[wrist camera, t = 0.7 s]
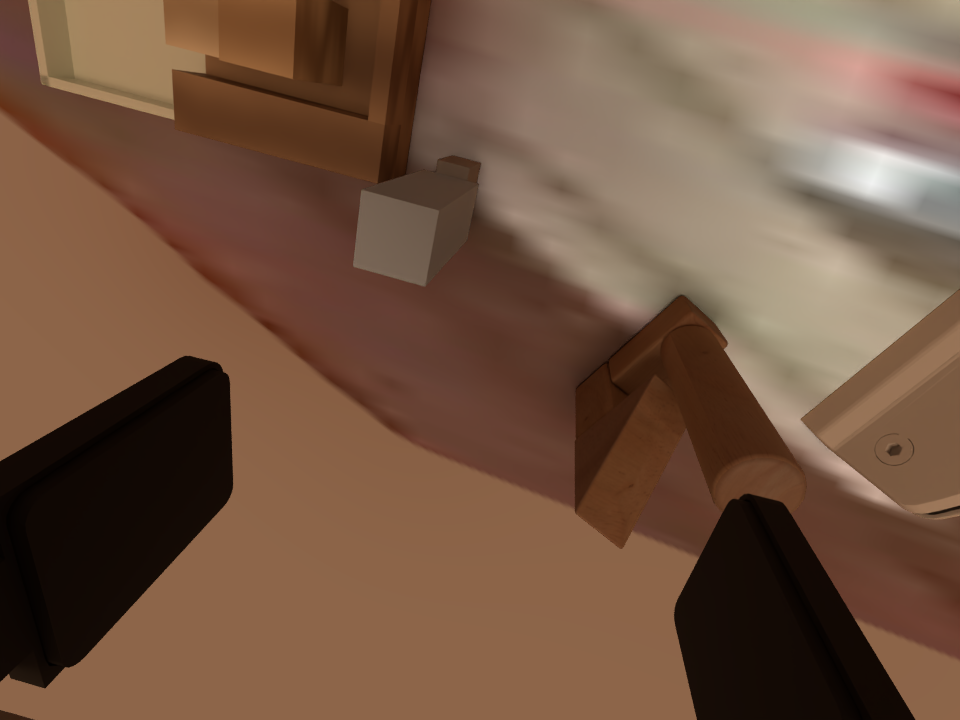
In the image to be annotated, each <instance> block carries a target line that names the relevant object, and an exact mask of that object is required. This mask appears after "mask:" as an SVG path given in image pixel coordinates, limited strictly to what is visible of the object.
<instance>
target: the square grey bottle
mask: <svg viewBox="0 0 960 720" xmlns="http://www.w3.org/2000/svg"><path fill="white" fill-rule="evenodd" d="M480 165H481V163H479V162H475V161H471V160H468V159H464V158H460V157H456V156H449V157H445V158H442V159H438V162H437V168H436V173H435V172H432V171H428V170H421V171H417V172H414V173H411V174H408V175H405V176H402V177H399V178H396V179H393V180H390V181H387V182H384V183H381V184H377V185H374V186H371V187H368V188H365V189H362V190H361V199H360V208H359V217H358V226H357V235H356V244H355V253H354V262H353V267H356V268H360V269H364V270H367V271H371V272H374V273H378V274H382V275H385V276H389V277H392V278H396V279H400V280H403V281H407V282H410V283H414V284H418V285H421V286H426V285H427V284H428V283H429V282H430V281H431V279H432V278H433V277H434V276H435V275H436V274H437V273H438V272H439V271H440V269H441V268H442V267H443V266H444V265H445V264H446V263H447V262H448V261H449V260H450V258H451V257H452V256H453V255H454V254H455V253H456V252H457V251H458V250H459V248H460V247H461V246H462V245H463V244H464V243H465V242H466V241H467V238H468V233H469V228H470V224H471V219H472V214H473V210H474V205H475V200H476V196H477V191H478V186H479V184H477V179H478V174H479V170H480Z"/></svg>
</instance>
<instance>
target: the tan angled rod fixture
mask: <svg viewBox="0 0 960 720" xmlns="http://www.w3.org/2000/svg"><path fill="white" fill-rule="evenodd" d="M727 345H728V343H727V340H726V339H725V337H724V336H723V335H722V333H721V332H720V330H719V329H718V327H717V326H716V324H715V323H714V322H712V321H711V320H710V319H709V318H708V317H707V316H706V315H705V314H704V313H703V312H702V311H700V310H699V309H698V308H697V307H696V306H695V305H694V304H693V303H692V302H691V301H690V300H688V299H687V298H686V297H685V296H680V297H678V298H677V299H676V300H675V301H674V302H673V303H672V304H671V305H670V306H668V307H667V308H666V309H665V310H664V311H663V312H662V313H661V314H660V315H658V316H657V317H656V318H655V319H654V320H653V321H652V322H651V323H649V324H648V325H647V326H646V327H645V328H644V329H643V330H642V331H641V332H639V333H638V334H637V335H636V336H635V337H634V338H633V339H632V340H630V341H629V342H628V343H627V344H626V345H625V346H624V347H623V348H622V349H620V350H619V351H618V352H617V353H616V354H615V355H614V356H613V357H612V358H610V360H609V364H608V363H605V364H604V365H602V366H601V367H600V368H599V369H598V370H597V371H596V372H595V373H593V374H592V375H591V376H590V377H589V378H588V379H587V380H586V381H585V382H583V383H582V384H581V385H580V386H579V387H578V388H577V389H576V440H575V513H576V514H577V515H578V516H579V517H581V518H582V519H583V520H584V521H586V522H587V523H588V524H589V525H591V526H592V527H593V528H595V529H596V530H597V531H598V532H600V533H601V534H602V535H603V536H605V537H606V538H607V539H608V540H610V541H611V542H612V543H614V544H615V545H616V546H617V547H619V548H620V549H622V548H623V547H624V545H625V543H626V541H627V539H628V537H629V536H630V534H631V532H632V530H633V528H634V526H635V524H636V522H637V520H638V518H639V516H640V515H641V513H642V511H643V509H644V507H645V505H646V503H647V501H648V499H649V497H650V495H651V494H652V492H653V490H654V488H655V486H656V484H657V482H658V480H659V478H660V476H661V474H662V473H663V471H664V469H665V467H666V465H667V463H668V461H669V459H670V457H671V455H672V454H673V452H674V450H675V448H676V446H677V444H678V442H679V440H680V438H681V436H682V434H683V433H684V431H685V429H686V428H687V431H688V433H689V436H690V439H691V441H692V444H693V447H694V450H695V452H696V455H697V458H698V461H699V463H700V466H701V469H702V472H703V474H704V477H705V480H706V483H707V485H708V488H709V491H710V494H711V496H712V499H713V502H714V503H715V504H716V506H717V507H718V508H719V509H720V510H721V511H722V512H723V511H724V509H725V507H726V505H727V504H728V502H729V501H730V500H731V499H739V498H740V497H741V496H742V495H743V494H747V493H749V494H753V495H757V496H761V497H765V498H769V499H773V500H777V501H780V502H782V503H784V505H785V506H786V507H787V509H788V510H789V512H790V514H791V513H792V512H794V511H795V510H796V509H797V508H798V507H799V506H800V504H801V503H802V501H803V500H804V497H805V492H806V487H807V483H806V478H805V474H804V472H803V470H802V469H801V467H800V466H799V464H798V463H797V461H796V460H795V458H794V456H793V455H792V453H791V452H790V450H789V449H788V447H787V446H786V444H785V443H784V441H783V440H782V438H781V437H780V435H779V434H778V432H777V430H776V429H775V427H774V426H773V424H772V423H771V421H770V420H769V418H768V417H767V415H766V414H765V412H764V411H763V409H762V407H761V406H760V404H759V403H758V401H757V400H756V398H755V397H754V395H753V394H752V392H751V391H750V389H749V388H748V386H747V385H746V383H745V381H744V380H743V378H742V377H741V375H740V374H739V372H738V371H737V369H736V368H735V366H734V365H733V363H732V362H731V360H730V358H729V357H728V355H727V354H726V352H725V351H724V348H726V346H727Z"/></svg>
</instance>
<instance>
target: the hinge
mask: <svg viewBox="0 0 960 720" xmlns="http://www.w3.org/2000/svg"><path fill="white" fill-rule="evenodd" d="M801 420H802V421H803V423H804V424H805V425H806V426H807V427H808V428H809V429H810V430H811V431H812V432H813V433H814V434H815V435H816V436H817V437H818V438H819V439H820V440H821V441H822V442H823V444H824V445H825V446H826V447H828V448H829V449H830V450H831V451H833V452H834V453H835V454H836V455H837V456H839V457H840V458H841V459H842V460H844V461H845V462H846V463H847V464H849V465H850V466H851V467H852V468H854V469H855V470H856V471H857V472H859V473H860V474H861V475H862V476H863V477H865V478H866V479H867V480H868V481H870V482H871V483H872V484H873V485H875V486H876V487H877V488H878V489H880V490H881V491H882V492H883V493H885V494H886V495H887V496H888V497H889V498H891V499H892V500H893V501H894V502H896V503H897V504H898V505H899V506H901V507H902V508H903V509H905V510H907V511H909V512H912V513H913V514H915V515H917V516H919V517H922V518H927V519H946V518H951V517H956V516H960V289H959V290H958V291H957V292H956V293H954V294H953V295H952V296H951V297H950V298H948V299H947V300H946V301H945V302H943V303H942V304H941V305H940V306H939V307H937V308H936V309H935V310H934V311H932V312H931V313H930V314H929V315H928V316H926V317H925V318H924V319H923V320H921V321H920V322H919V323H918V324H917V325H915V326H914V327H913V328H912V329H910V330H909V331H908V332H907V333H906V334H904V335H903V336H902V337H901V338H899V339H898V340H897V341H896V342H895V343H893V344H892V345H891V346H890V347H888V348H887V349H886V350H885V351H884V352H882V353H881V354H880V355H879V356H877V357H876V358H875V359H874V360H873V361H871V362H870V363H869V364H868V365H866V366H865V367H864V368H863V369H862V370H860V371H859V372H858V373H857V374H855V375H854V376H853V377H852V378H851V379H849V380H848V381H847V382H846V383H844V384H843V385H842V386H841V387H840V388H838V389H837V390H836V391H835V392H833V393H832V394H831V395H830V396H829V397H827V398H826V399H825V400H824V401H822V402H821V403H820V404H819V405H818V406H816V407H815V408H814V409H813V410H811V411H810V412H809V413H808V414H807V415H805V416H804V417H803V418H802V419H801Z"/></svg>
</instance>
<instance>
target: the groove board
mask: <svg viewBox="0 0 960 720" xmlns="http://www.w3.org/2000/svg"><path fill="white" fill-rule="evenodd" d="M331 1H333V2H335V3H337V4H339V5H341V6H343V7H345V8H347V9H349V11H348V22H347V34H346V46H345V58H344V69H343V81H342V86H336V85H329V84H322V83H315V82H309V81H302V80H295V79H290V78H286V77H283V76H279V75H275V74H271V73H267V72H263V71H259V70H256V69H252V68H248V67H244V66H240V65H236V64H232V63H229V62H225V61H221V60H219V58H217V57H213V56H210V55H206V54H205V64H206V74H205V73H197V72H190V71H182V70H174V69H172V83H173V102H174V120H175V129H176V130H179V131H183V132H187V133H191V134H194V135H198V136H202V137H205V138H209V139H213V140H217V141H220V142H224V143H228V144H231V145H235V146H239V147H243V148H246V149H250V150H254V151H258V152H261V153H265V154H269V155H272V156H276V157H280V158H284V159H287V160H291V161H295V162H299V163H302V164H306V165H310V166H313V167H317V168H321V169H325V170H328V171H332V172H336V173H339V174H343V175H347V176H351V177H354V178H358V179H362V180H366V181H369V182H373V183H377V184H378V183H381V182H384V181H388V180H391V179H394V178H397V177H400V176H403V175H405V174H406V167H407V160H408V153H409V147H410V140H411V133H412V126H413V120H414V113H415V106H416V99H417V93H418V86H419V79H420V72H421V66H422V59H423V52H424V45H425V39H426V32H427V25H428V18H429V12H430V5H431V0H331Z"/></svg>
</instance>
